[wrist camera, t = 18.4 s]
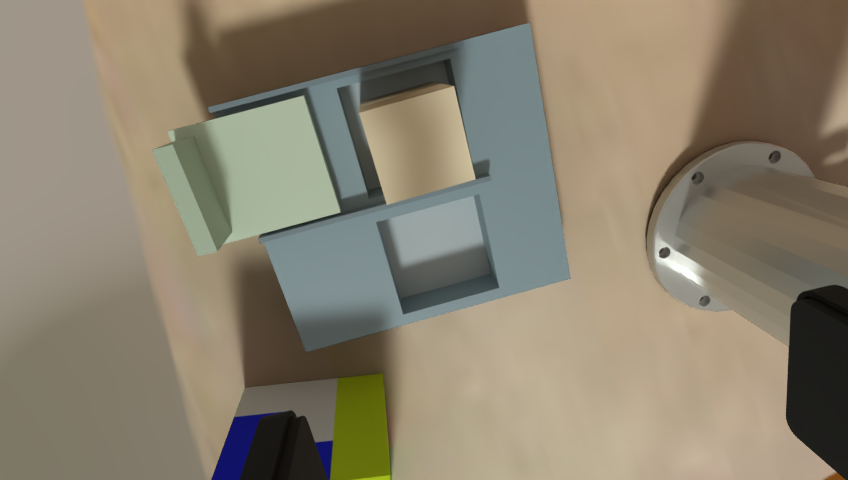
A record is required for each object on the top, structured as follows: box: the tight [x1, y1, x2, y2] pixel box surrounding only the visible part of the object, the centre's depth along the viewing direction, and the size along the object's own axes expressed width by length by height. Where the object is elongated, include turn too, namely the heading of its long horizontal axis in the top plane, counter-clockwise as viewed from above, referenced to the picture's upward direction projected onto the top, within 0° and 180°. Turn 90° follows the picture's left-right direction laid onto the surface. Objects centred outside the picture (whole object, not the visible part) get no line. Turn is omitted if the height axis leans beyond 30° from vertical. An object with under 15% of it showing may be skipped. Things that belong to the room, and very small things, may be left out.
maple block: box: [359, 81, 475, 205], centre depth 27 cm, size 4×4×8 cm
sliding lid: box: [152, 95, 341, 256], centre depth 27 cm, size 7×7×4 cm
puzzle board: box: [207, 23, 571, 352], centre depth 31 cm, size 18×16×4 cm
